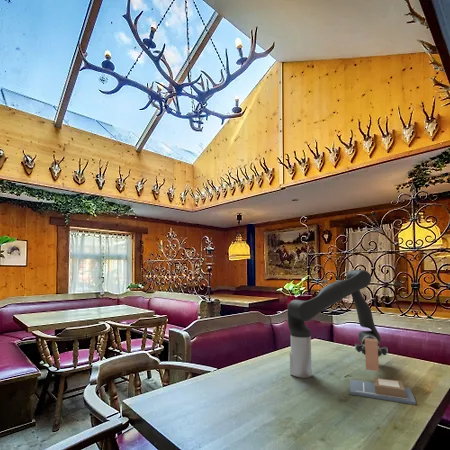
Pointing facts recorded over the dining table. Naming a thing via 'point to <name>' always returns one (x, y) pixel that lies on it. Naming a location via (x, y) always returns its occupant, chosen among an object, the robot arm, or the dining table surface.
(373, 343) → the terracotta pillar
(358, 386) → the blueprint board
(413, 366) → the dining table surface
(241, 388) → the dining table surface
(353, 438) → the dining table surface
